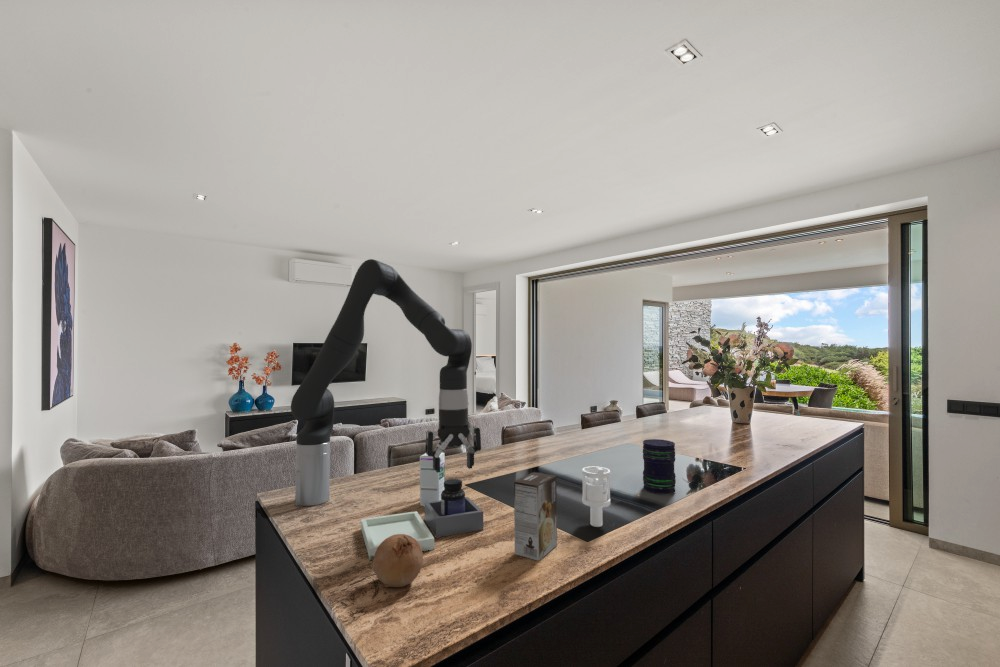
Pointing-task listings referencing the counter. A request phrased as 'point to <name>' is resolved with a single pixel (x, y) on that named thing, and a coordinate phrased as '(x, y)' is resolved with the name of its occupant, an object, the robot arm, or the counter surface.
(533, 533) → the coffee box
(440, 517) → the holder
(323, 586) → the counter surface
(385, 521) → the tray
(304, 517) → the counter surface
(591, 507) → the white cylindrical cage part
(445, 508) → the pill bottle
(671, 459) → the storage jar
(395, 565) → the onion
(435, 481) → the syrup box
